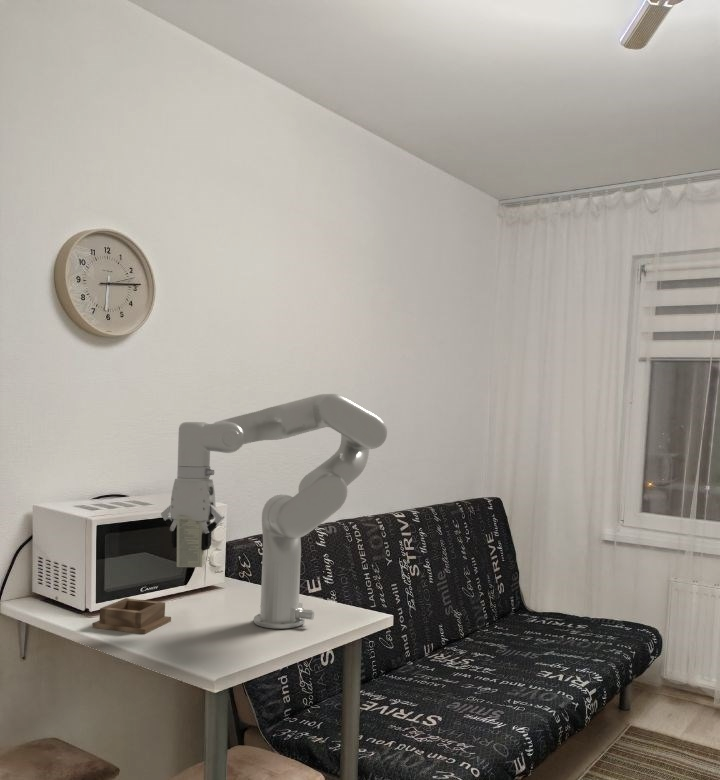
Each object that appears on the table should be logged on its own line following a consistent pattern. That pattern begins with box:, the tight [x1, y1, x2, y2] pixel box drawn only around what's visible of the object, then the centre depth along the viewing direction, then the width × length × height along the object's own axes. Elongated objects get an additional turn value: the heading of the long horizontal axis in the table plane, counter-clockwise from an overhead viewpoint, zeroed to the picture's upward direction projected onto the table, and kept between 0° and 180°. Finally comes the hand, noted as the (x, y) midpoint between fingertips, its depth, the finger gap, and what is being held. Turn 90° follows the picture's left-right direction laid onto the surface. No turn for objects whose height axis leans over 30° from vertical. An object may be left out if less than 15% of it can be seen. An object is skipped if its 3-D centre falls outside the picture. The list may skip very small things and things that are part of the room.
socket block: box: [91, 597, 172, 635], centre depth 187 cm, size 14×12×4 cm
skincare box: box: [176, 516, 206, 568], centre depth 185 cm, size 6×4×12 cm
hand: (191, 547), depth 185 cm, fingers closed on skincare box, 6 cm apart
